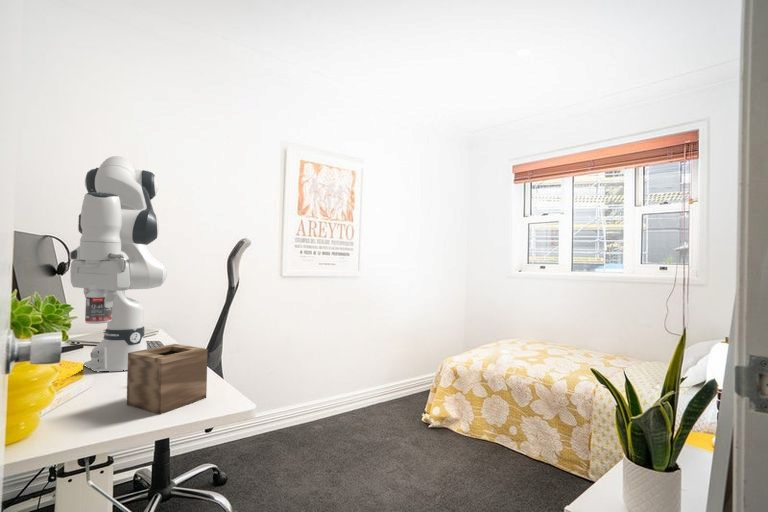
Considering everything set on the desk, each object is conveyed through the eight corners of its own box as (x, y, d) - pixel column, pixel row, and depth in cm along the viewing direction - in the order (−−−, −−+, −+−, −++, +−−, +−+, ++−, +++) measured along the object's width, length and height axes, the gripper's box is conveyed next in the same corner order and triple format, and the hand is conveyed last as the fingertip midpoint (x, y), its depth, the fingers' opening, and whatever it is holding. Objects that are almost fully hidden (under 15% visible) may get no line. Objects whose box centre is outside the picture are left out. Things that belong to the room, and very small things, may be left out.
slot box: (126, 404, 108) (128, 352, 109) (173, 390, 121) (174, 343, 121) (160, 414, 102) (161, 359, 103) (206, 398, 115) (207, 349, 115)
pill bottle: (91, 324, 101) (92, 285, 101) (81, 322, 104) (81, 284, 104) (116, 322, 106) (116, 284, 106) (105, 320, 109) (106, 283, 109)
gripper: (137, 254, 103) (136, 308, 103) (91, 253, 112) (90, 303, 112) (112, 253, 98) (110, 310, 97) (65, 252, 107) (64, 305, 106)
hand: (99, 306), depth 105 cm, fingers closed on pill bottle, 6 cm apart
